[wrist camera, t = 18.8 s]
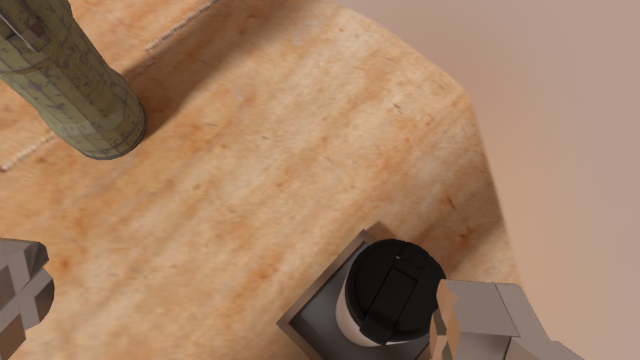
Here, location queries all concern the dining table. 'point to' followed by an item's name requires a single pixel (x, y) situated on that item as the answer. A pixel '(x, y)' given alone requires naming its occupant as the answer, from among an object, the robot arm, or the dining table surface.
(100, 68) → the thermos
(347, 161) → the dining table surface
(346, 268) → the square tray
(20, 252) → the robot arm
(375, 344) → the travel mug
